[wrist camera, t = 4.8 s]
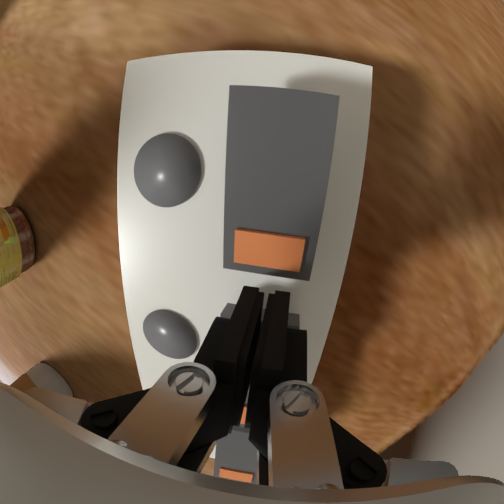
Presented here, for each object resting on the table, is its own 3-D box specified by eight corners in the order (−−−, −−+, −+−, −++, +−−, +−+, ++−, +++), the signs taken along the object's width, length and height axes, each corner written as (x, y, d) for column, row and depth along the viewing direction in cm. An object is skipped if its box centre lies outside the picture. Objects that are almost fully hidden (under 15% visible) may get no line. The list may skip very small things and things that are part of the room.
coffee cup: (61, 403, 27) (8, 471, 13) (25, 355, 25) (-39, 420, 11) (91, 407, 25) (31, 493, 11) (49, 352, 23) (-30, 435, 9)
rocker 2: (238, 87, 8) (228, 84, 7) (334, 97, 7) (340, 95, 6) (231, 251, 11) (221, 270, 10) (309, 262, 10) (309, 283, 9)
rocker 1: (222, 413, 14) (216, 428, 13) (272, 422, 14) (270, 438, 13) (217, 464, 16) (213, 477, 14) (258, 472, 15) (255, 486, 14)
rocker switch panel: (162, 76, 12) (125, 60, 9) (355, 86, 11) (373, 65, 8) (172, 413, 21) (157, 443, 18) (281, 437, 20) (276, 470, 17)
